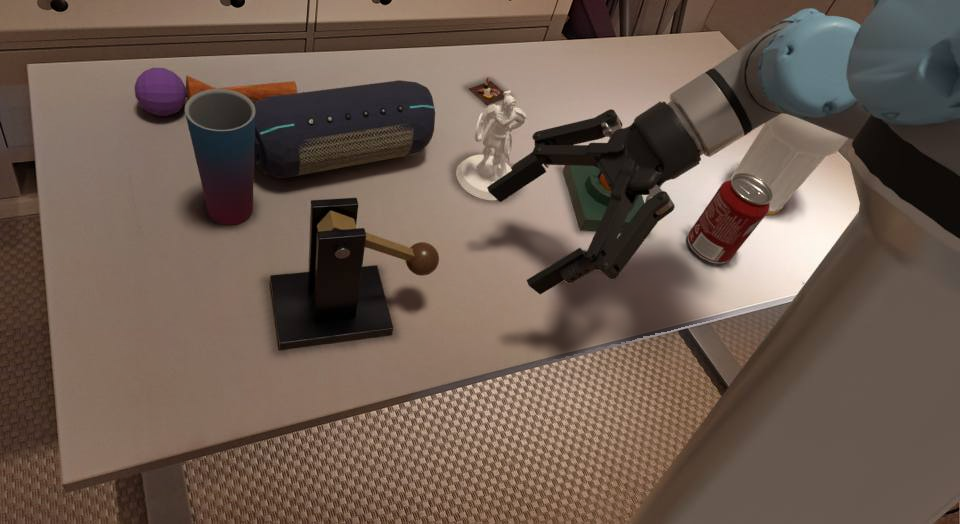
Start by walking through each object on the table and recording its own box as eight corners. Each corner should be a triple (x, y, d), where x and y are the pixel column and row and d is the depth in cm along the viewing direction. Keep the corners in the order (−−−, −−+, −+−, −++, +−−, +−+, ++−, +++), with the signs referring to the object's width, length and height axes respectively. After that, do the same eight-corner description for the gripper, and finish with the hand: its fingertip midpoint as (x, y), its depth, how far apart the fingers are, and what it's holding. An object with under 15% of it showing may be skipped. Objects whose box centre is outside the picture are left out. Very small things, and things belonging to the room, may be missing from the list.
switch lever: (420, 260, 74) (440, 240, 72) (428, 285, 72) (449, 266, 70) (311, 223, 64) (332, 200, 62) (317, 251, 62) (339, 228, 60)
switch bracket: (376, 271, 78) (390, 180, 66) (392, 334, 72) (410, 248, 61) (270, 281, 73) (266, 187, 62) (279, 349, 68) (277, 260, 57)
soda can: (710, 273, 90) (757, 213, 81) (676, 239, 93) (717, 178, 84) (739, 256, 93) (787, 197, 84) (705, 224, 96) (747, 164, 87)
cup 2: (797, 226, 101) (872, 139, 88) (729, 212, 99) (795, 121, 86) (778, 177, 108) (845, 89, 95) (715, 163, 107) (774, 73, 94)
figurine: (445, 182, 90) (468, 92, 79) (470, 148, 96) (494, 59, 84) (504, 209, 89) (535, 122, 78) (525, 173, 95) (557, 87, 84)
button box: (646, 234, 92) (658, 214, 89) (580, 230, 90) (590, 210, 87) (624, 174, 100) (634, 155, 97) (562, 169, 97) (571, 149, 94)
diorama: (474, 89, 105) (477, 78, 103) (490, 83, 107) (493, 72, 105) (486, 100, 104) (489, 89, 102) (503, 94, 106) (506, 83, 104)
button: (629, 194, 91) (634, 185, 90) (602, 192, 90) (607, 183, 89) (622, 174, 94) (626, 165, 92) (596, 172, 93) (600, 163, 91)
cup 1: (268, 223, 79) (264, 124, 67) (209, 237, 75) (195, 136, 64) (249, 184, 82) (243, 84, 71) (192, 196, 79) (176, 93, 67)
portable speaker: (259, 200, 80) (256, 137, 73) (236, 147, 85) (231, 83, 78) (440, 165, 92) (453, 107, 84) (410, 120, 97) (421, 61, 89)
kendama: (301, 95, 89) (135, 93, 80) (296, 124, 93) (138, 125, 84) (293, 62, 91) (130, 56, 82) (288, 91, 96) (134, 90, 87)
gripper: (756, 236, 63) (567, 343, 68) (642, 76, 77) (494, 176, 83) (741, 200, 57) (536, 320, 63) (621, 34, 71) (463, 145, 77)
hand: (512, 238), depth 73 cm, fingers open, 13 cm apart
